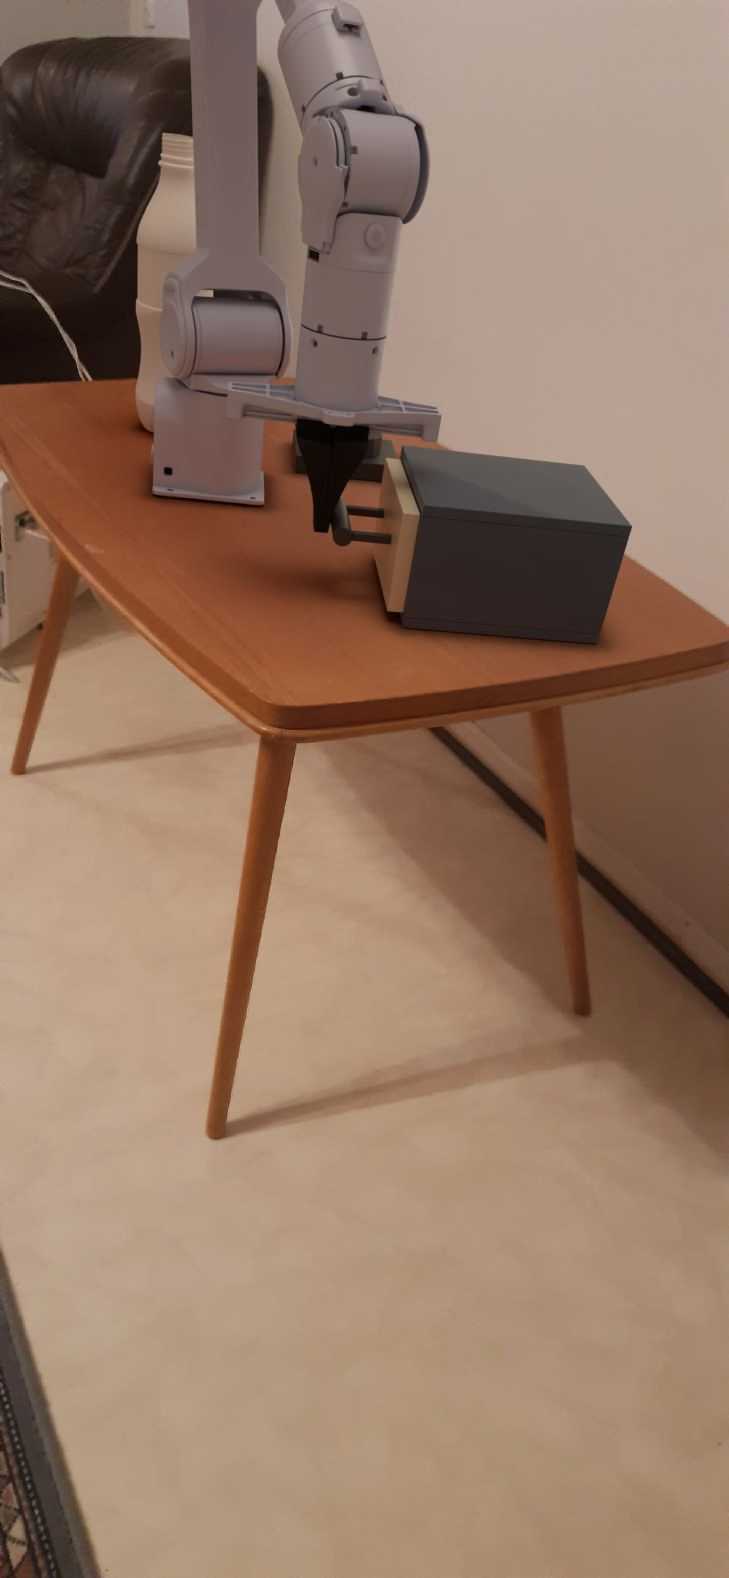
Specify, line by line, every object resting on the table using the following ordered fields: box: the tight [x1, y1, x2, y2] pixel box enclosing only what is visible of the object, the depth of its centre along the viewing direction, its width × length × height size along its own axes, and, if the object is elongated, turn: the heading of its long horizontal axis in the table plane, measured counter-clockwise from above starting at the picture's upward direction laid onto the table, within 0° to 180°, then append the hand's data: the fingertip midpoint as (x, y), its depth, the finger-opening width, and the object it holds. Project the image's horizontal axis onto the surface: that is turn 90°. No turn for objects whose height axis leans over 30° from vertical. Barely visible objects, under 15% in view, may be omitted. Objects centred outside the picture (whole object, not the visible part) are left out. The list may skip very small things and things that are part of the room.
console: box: [291, 428, 399, 483], centre depth 100 cm, size 10×8×4 cm
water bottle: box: [134, 132, 214, 434], centre depth 95 cm, size 7×7×25 cm
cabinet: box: [398, 444, 633, 645], centre depth 77 cm, size 15×13×9 cm
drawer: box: [330, 458, 421, 613], centre depth 76 cm, size 18×11×7 cm, turn 95°
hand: (320, 527), depth 75 cm, fingers closed, pressing on drawer
